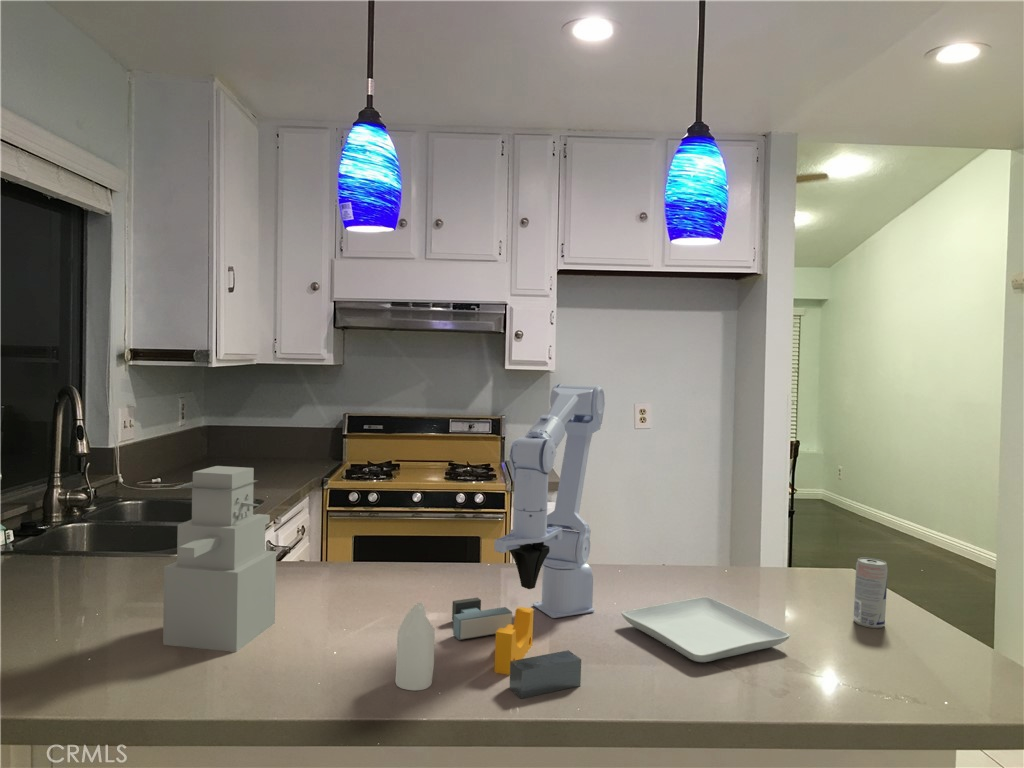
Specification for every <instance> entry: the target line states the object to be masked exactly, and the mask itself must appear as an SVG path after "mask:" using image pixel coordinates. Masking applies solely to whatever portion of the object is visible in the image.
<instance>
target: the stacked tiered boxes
mask: <svg viewBox="0 0 1024 768" xmlns="http://www.w3.org/2000/svg"><path fill="white" fill-rule="evenodd" d="M254 470H255V469H254V467H244V466H243V467H242V466H241V467H240V466H225V465H224V466H223V465H215V466H211V467H207V468H203V469H199V470H196V471H193V472H192V481H190V482H187V483H183V484H180V485H177V486H175V488H181V489H182V488H183V489H191V519H189V520H187V521H184V522H181V523H178V524H177V536H176V537H177V539H176V542H177V543H176V544H177V545H176V547H177V548H176V549H177V550H176V551H177V552H176V554H177V555H176V561H173V562H172V563H169V564H167V565H164V566H163V608H162V609H163V610H162V611H163V612H162V613H163V617H162V619H163V621H162V623H163V625H162V627H163V629H162V630H163V631H162V645H163V646H170V647H171V646H173V647H181V648H182V647H183V648H190V649H191V648H192V649H201V650H213V651H220V652H221V651H222V652H230V653H231V652H232V653H237V652H239V651H240V650H241V649H242V648H244V647H245V646H247V645H248V644H249V643H250V642H252V641H253V640H255V639H256V638H257V637H259V636H260V635H261V634H262V633H264V632H265V631H266V630H268V629H269V628H271V627H272V626H273V625H275V624H276V582H277V581H276V579H277V578H276V576H277V575H276V574H277V551H274V550H266V525H268V524H270V523H271V522H270V521H271V518H270V517H271V515H270V514H265V513H264V514H263V513H257V514H254V507H257V506H258V507H259V506H260V504H257V503H254V487H255V486H254V483H257V482H259V480H256V479H255V480H254V478H255V477H254V476H255V475H254Z"/></svg>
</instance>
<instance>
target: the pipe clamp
mask: <svg viewBox="0 0 1024 768" xmlns="http://www.w3.org/2000/svg"><path fill="white" fill-rule="evenodd" d="M514 615H515V616H514V622H513V624H512V625H511V624H508V625H507V626H506V627H505V628H499V629H498V630H497V631H496V634H495V642H494V643H495V646H494V647H495V648H494V649H495V650H494V673H496V674H501V675H508V676H510V661H514V660H519V659H524V658H525V656H526V655H527V654H528V653H529V651H530V650H531V649H532V647H533V637H534V635H533V633H534V632H533V630H534V608H529V607H522V606H518V607H517V608H516V609H515V613H514ZM531 646H532V647H531ZM529 649H530V650H529ZM528 650H529V651H528ZM526 653H527V654H526ZM525 654H526V655H525ZM523 657H524V658H523Z"/></svg>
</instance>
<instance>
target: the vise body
mask: <svg viewBox="0 0 1024 768" xmlns="http://www.w3.org/2000/svg"><path fill="white" fill-rule="evenodd" d="M581 674H582V659H581V658H580V657H578V656H577V655H576V654H574V653H573V652H572V651H570V650H562V651H558V652H557V651H556V652H552V653H547V654H542V655H535V656H530V657H526V658H525V657H524V658H523V659H519V660H514V661H510V675H509V689H510V690H511V691H512V692H513V693H514V694H516V696H517V697H518V698H520V699H526V698H530V697H531V698H532V697H535V696H540V695H546V694H548V693H554V692H558V691H562V690H567V689H572V688H577V687H580V686H581V681H582V678H581V677H582V675H581Z"/></svg>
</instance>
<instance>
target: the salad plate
mask: <svg viewBox="0 0 1024 768" xmlns="http://www.w3.org/2000/svg"><path fill="white" fill-rule="evenodd" d="M620 614H621V615H622V617H623V618H624V620H625V621H626V622H628V624H629V625H631V626H633V627H634V628H635V629H637V630H639V631H641V632H643V633H645V634H647V635H649V636H650V637H652V638H653V637H654V638H653V639H656V640H657V641H659V642H661V643H662V644H664V645H665V644H666V645H665V646H668V648H672V649H673V650H674V649H675V651H676V652H678V653H680V654H681V655H683V656H685V657H686V658H688V659H690V660H691V661H693V662H697V663H707V662H712V661H717V660H721V659H725V658H730V657H735V656H738V655H743V654H746V653H753V652H755V651H760V650H764V649H768V648H773V647H775V646H779V645H781V644H782V643H785V642H786V641H788V640H789V638H790V637H791V635H790V634H789V633H788V632H786V631H784V630H783V629H780V628H778V627H775V626H774V625H772V624H770V623H767V622H765V621H763V620H762V619H759V618H757V617H755V616H752V615H750V614H748V613H746V612H744V611H742V610H740V609H737V608H735V607H733V606H730V605H728V604H726V603H724V602H721V601H719V600H717V599H714V598H712V597H710V596H705V595H704V596H699V597H694V598H688V599H682V600H677V601H676V600H675V601H671V602H666V603H665V602H664V603H659V604H656V605H649V606H644V607H638V608H634V609H628V610H623V611H621V612H620Z"/></svg>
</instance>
